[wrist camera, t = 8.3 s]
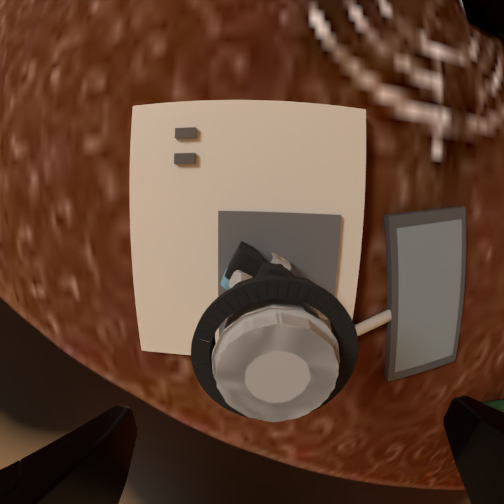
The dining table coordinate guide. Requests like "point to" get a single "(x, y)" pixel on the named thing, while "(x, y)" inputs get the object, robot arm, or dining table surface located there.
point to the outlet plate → (240, 203)
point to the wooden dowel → (373, 322)
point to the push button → (272, 341)
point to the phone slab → (424, 288)
